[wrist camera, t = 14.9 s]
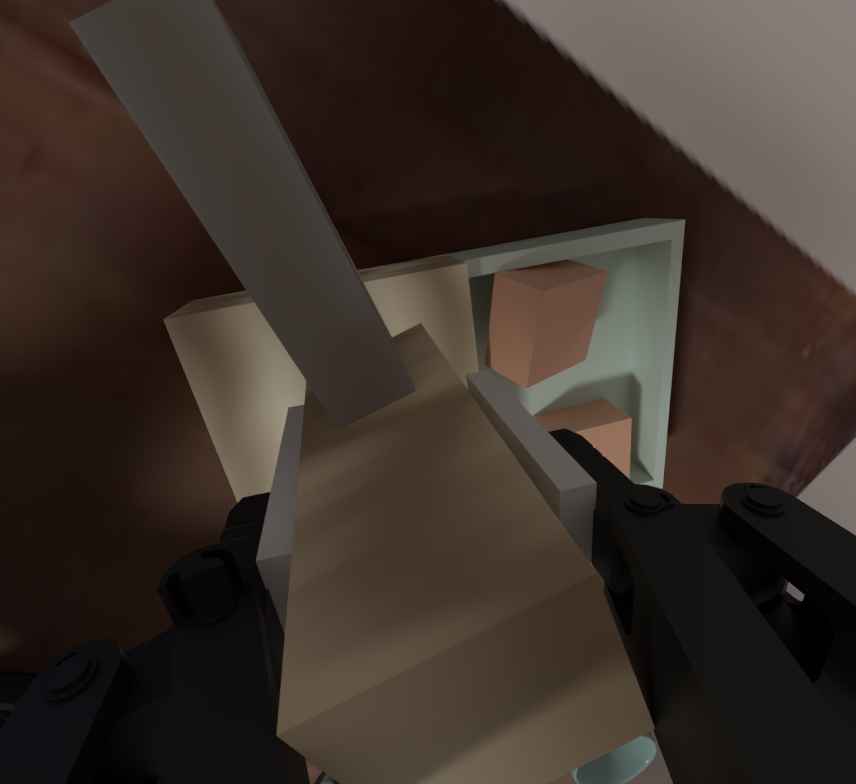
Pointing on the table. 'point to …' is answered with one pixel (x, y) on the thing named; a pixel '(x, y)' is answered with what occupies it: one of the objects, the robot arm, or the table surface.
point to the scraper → (379, 471)
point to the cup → (618, 763)
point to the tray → (604, 325)
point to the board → (276, 371)
